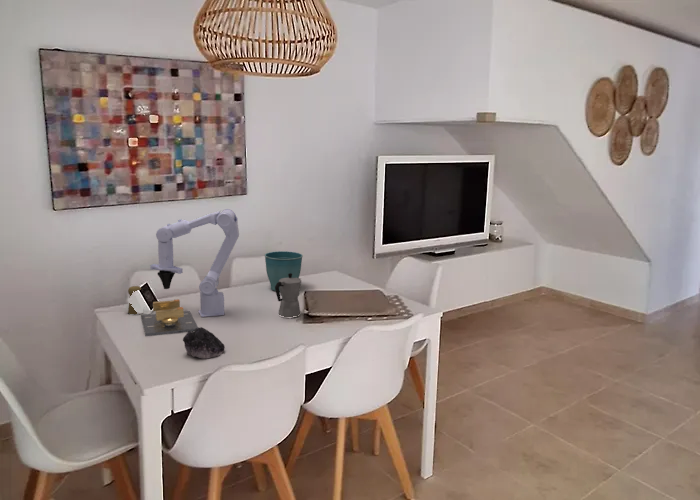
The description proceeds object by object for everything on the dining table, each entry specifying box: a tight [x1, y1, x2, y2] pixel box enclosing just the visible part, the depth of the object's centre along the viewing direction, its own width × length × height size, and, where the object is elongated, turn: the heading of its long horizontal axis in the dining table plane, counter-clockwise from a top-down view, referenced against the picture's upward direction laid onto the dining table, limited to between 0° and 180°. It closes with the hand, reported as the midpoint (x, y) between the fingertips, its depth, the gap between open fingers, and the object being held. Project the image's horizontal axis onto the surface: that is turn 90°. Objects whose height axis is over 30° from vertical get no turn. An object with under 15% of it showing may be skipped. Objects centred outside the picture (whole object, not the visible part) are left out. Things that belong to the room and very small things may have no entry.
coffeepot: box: [274, 273, 302, 317], centre depth 235 cm, size 15×9×18 cm, turn 145°
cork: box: [127, 285, 142, 315], centre depth 232 cm, size 6×6×11 cm
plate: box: [140, 310, 198, 337], centre depth 222 cm, size 19×22×2 cm
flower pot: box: [264, 250, 303, 292], centre depth 274 cm, size 18×18×17 cm
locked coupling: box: [152, 298, 181, 312], centre depth 227 cm, size 6×10×5 cm, turn 114°
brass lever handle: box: [155, 306, 185, 325], centre depth 217 cm, size 6×10×5 cm, turn 122°
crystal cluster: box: [182, 326, 226, 359], centre depth 195 cm, size 13×14×10 cm
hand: (166, 288), depth 233 cm, fingers closed
